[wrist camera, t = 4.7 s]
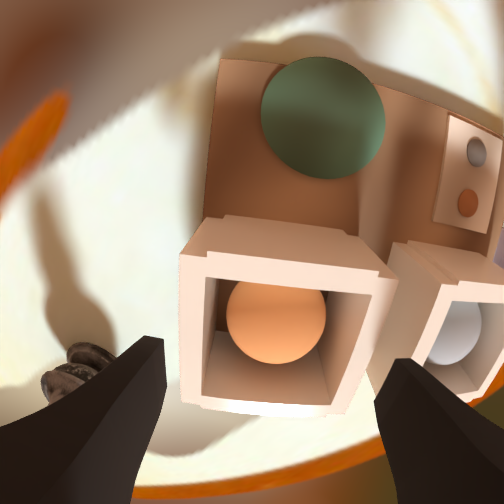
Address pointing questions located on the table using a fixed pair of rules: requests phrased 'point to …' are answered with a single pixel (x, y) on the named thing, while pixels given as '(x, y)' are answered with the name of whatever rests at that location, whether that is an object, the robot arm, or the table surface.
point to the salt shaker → (74, 370)
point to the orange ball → (275, 321)
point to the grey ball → (456, 333)
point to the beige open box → (283, 274)
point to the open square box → (441, 315)
